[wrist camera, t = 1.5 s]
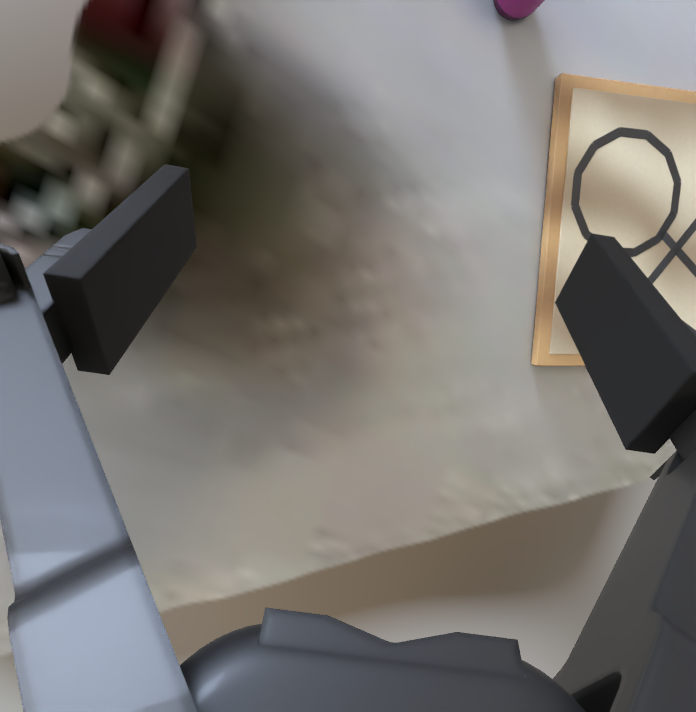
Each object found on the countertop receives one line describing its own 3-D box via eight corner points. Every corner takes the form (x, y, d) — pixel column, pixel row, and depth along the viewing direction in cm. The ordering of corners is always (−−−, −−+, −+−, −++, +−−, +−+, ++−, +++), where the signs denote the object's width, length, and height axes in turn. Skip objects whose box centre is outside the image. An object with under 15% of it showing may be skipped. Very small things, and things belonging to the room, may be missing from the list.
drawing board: (555, 77, 34) (563, 71, 33) (768, 106, 38) (782, 101, 37) (530, 364, 37) (538, 366, 36) (731, 365, 41) (743, 367, 40)
